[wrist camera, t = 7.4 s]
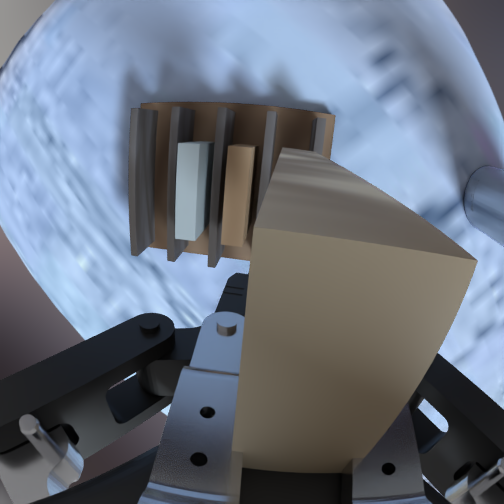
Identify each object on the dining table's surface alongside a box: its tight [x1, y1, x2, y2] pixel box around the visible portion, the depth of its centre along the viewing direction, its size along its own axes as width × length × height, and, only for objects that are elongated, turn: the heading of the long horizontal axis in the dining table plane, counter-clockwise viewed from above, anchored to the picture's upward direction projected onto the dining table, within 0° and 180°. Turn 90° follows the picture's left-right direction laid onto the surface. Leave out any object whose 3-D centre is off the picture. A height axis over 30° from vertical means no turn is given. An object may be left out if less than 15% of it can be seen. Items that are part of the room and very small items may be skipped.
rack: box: [129, 102, 335, 268], centre depth 30 cm, size 22×18×6 cm
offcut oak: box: [221, 144, 259, 247], centre depth 28 cm, size 2×9×7 cm, turn 175°
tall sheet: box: [232, 147, 478, 473], centre depth 11 cm, size 2×10×16 cm, turn 175°
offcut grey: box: [175, 141, 215, 241], centre depth 29 cm, size 2×9×7 cm, turn 175°
